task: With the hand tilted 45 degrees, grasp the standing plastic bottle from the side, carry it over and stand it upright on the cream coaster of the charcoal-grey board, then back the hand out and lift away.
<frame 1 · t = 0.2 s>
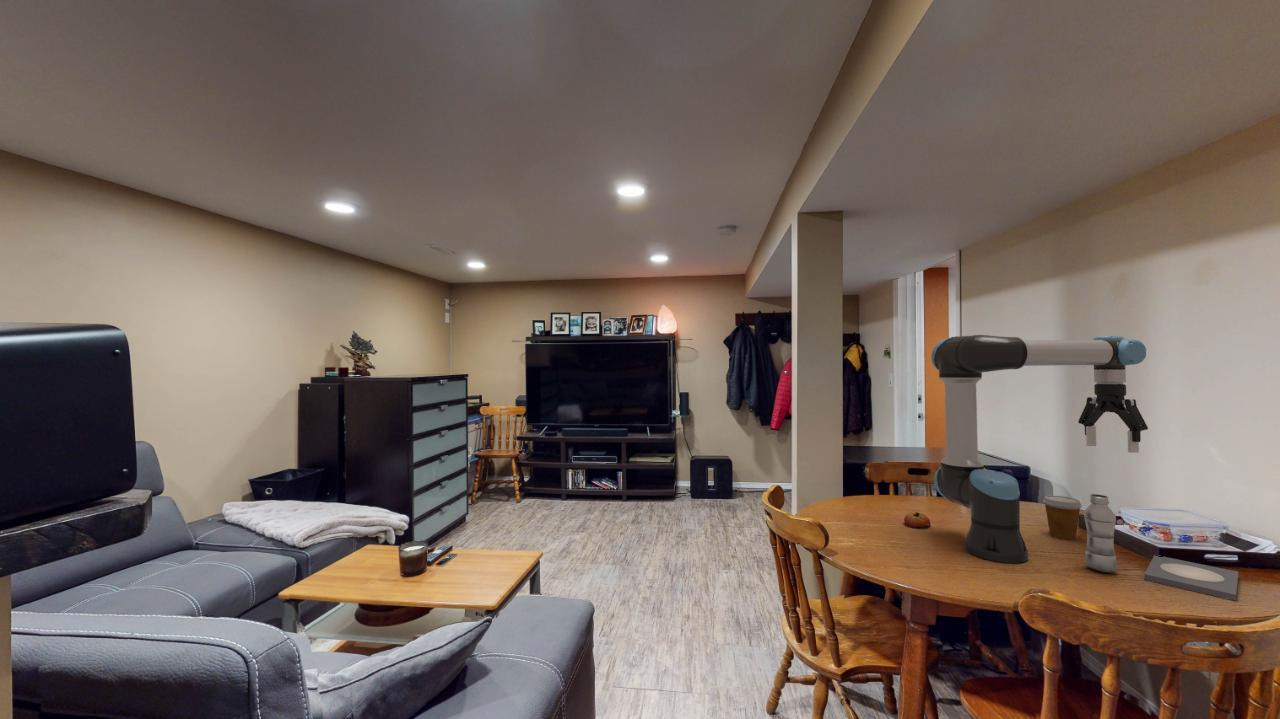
hand: (1111, 449, 159), 28 cm above the table, tool pointing down, fingers open, 13 cm apart
plastic bottle: (1100, 571, 132), on the table
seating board: (1191, 578, 127), on the table
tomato: (916, 526, 171), on the table
disposable coffee cup: (1062, 536, 159), on the table
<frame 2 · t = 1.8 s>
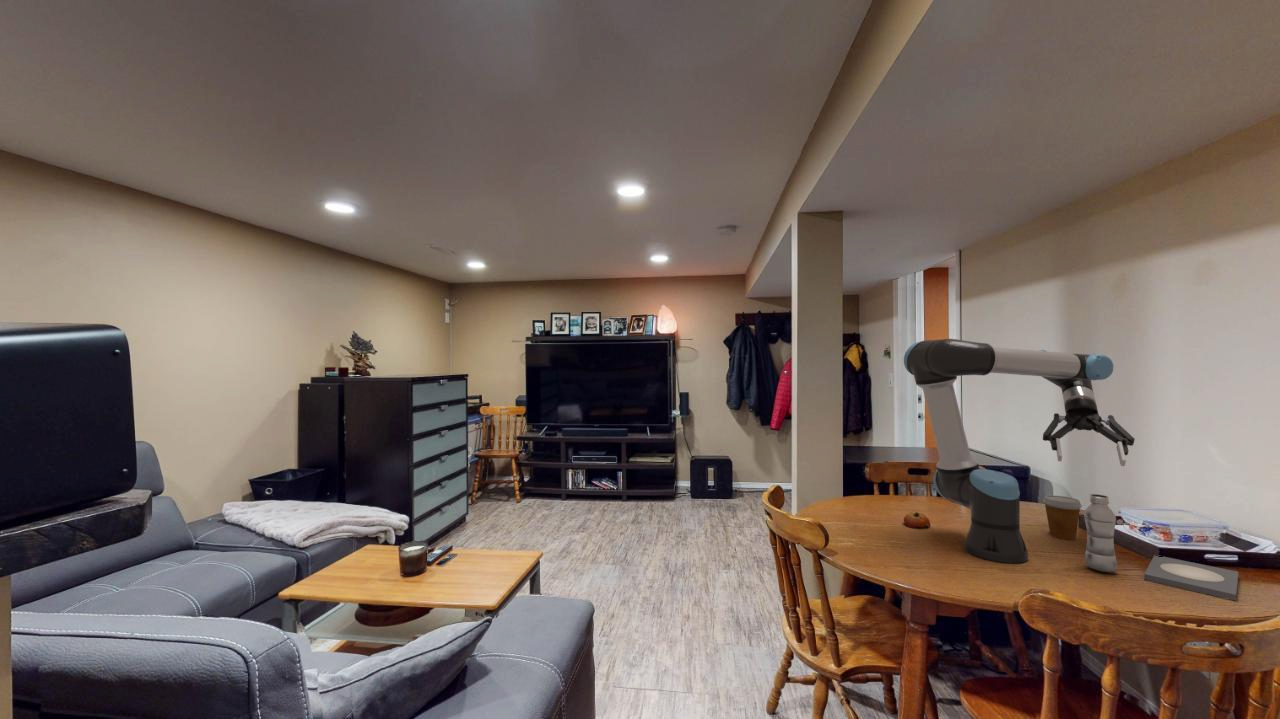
hand: (1090, 461, 142), 28 cm above the table, tool tilted 45°, fingers open, 13 cm apart
nothing on the table moved.
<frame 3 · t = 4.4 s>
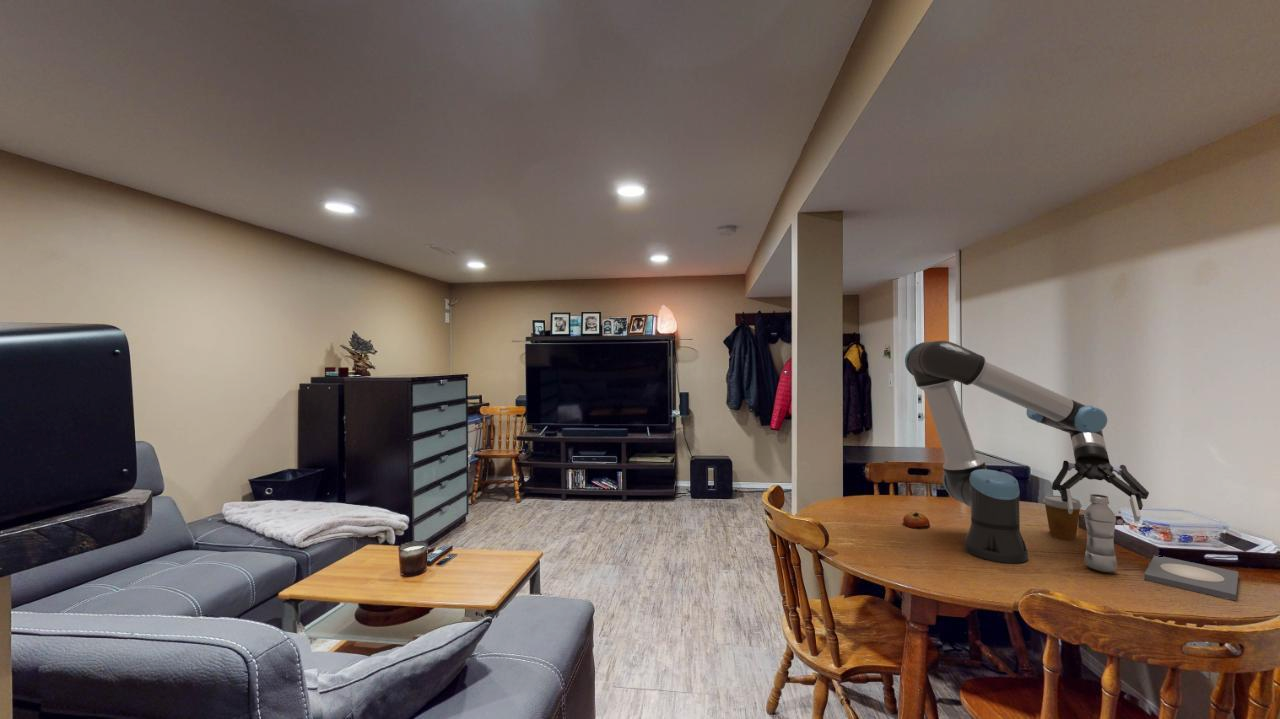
hand: (1103, 515, 135), 14 cm above the table, tool tilted 45°, fingers open, 13 cm apart
nothing on the table moved.
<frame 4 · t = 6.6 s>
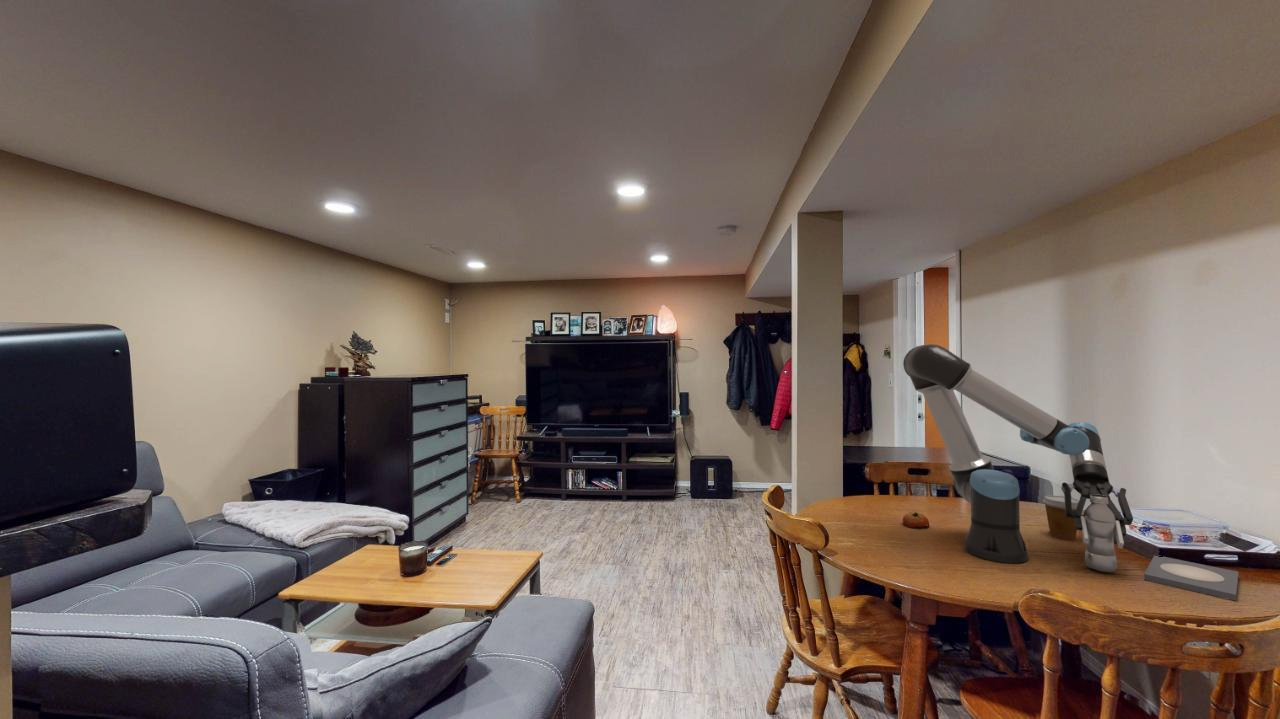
hand: (1103, 543, 130), 8 cm above the table, tool tilted 45°, fingers closed on plastic bottle, 6 cm apart
plastic bottle: (1100, 571, 132), on the table, touching gripper
everything else where it was.
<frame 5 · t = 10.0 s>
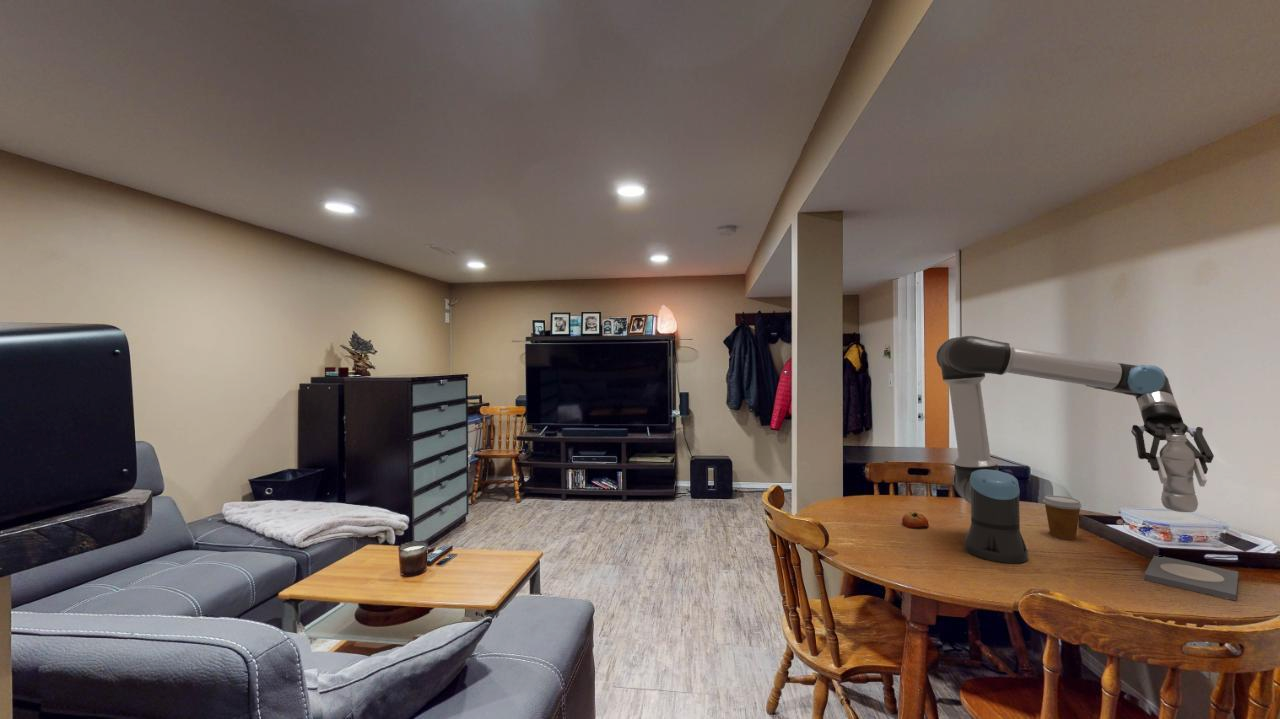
hand: (1183, 481, 125), 25 cm above the table, tool tilted 45°, fingers closed on plastic bottle, 6 cm apart
plastic bottle: (1179, 512, 128), point 17 cm above the table, touching gripper
everything else where it was.
when the fingers open (11 cm above the table, at t = 13.7 s): plastic bottle drops 1 cm, resting on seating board.
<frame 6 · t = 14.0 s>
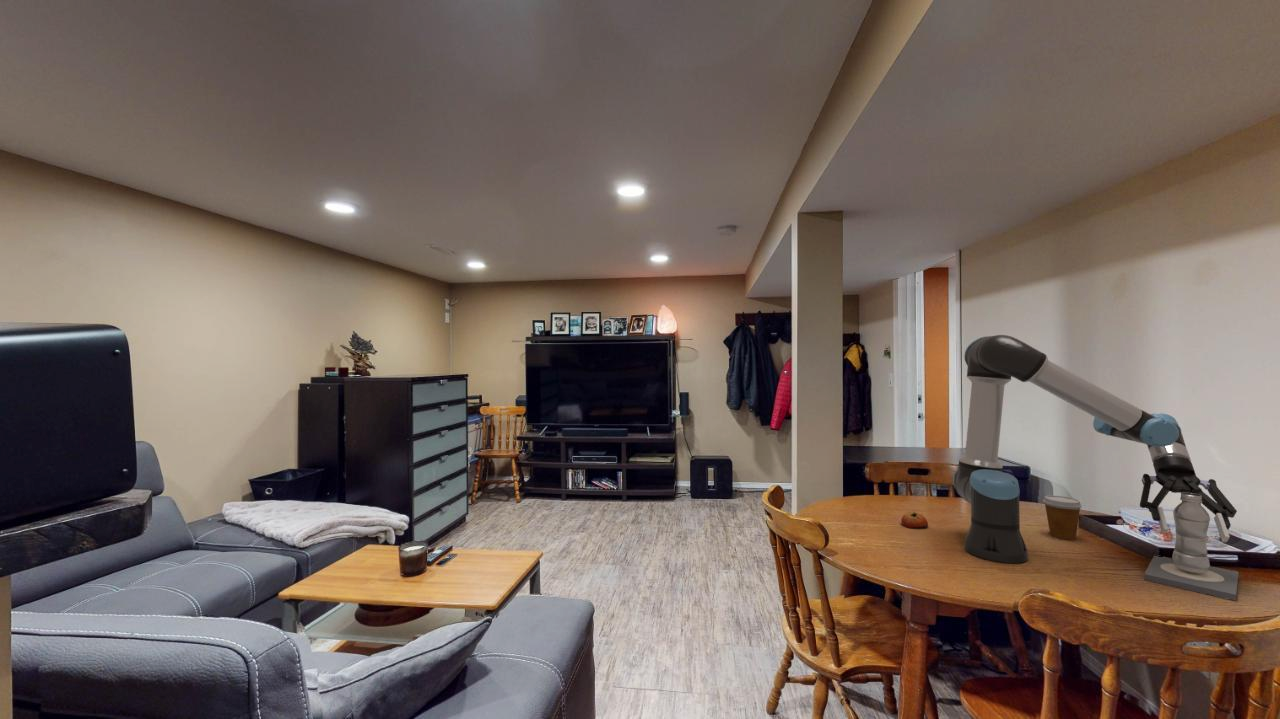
hand: (1194, 535, 125), 12 cm above the table, tool tilted 45°, fingers open, 10 cm apart
plastic bottle: (1190, 572, 127), point 2 cm above the table, touching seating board
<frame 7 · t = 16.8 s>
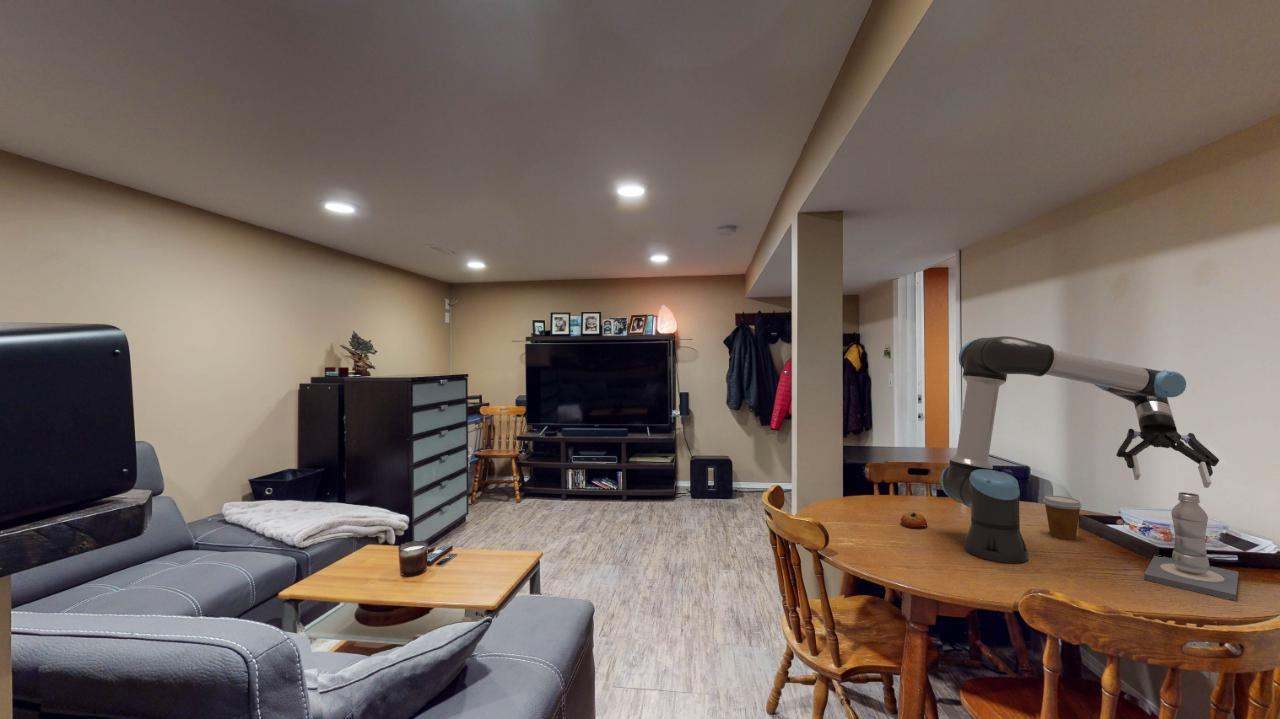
hand: (1171, 481, 136), 23 cm above the table, tool tilted 45°, fingers open, 13 cm apart
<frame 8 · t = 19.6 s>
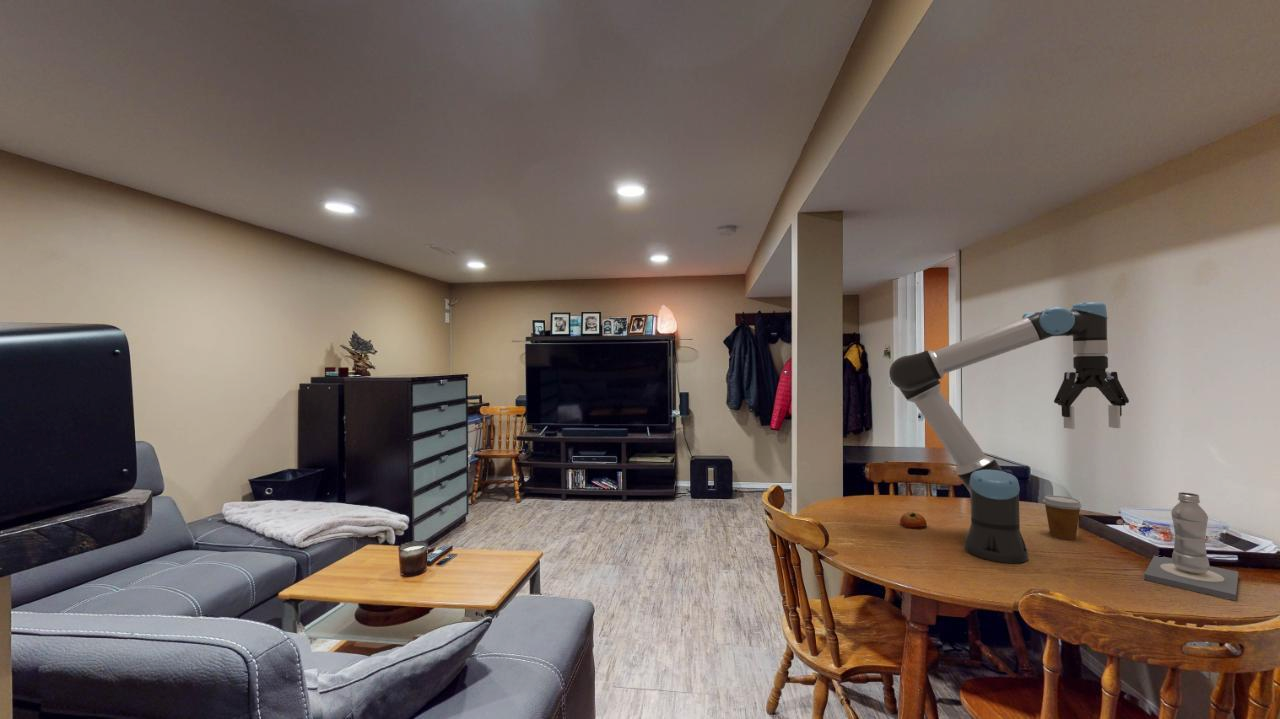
hand: (1091, 428, 144), 37 cm above the table, tool pointing down, fingers open, 13 cm apart
at the end: plastic bottle inside the target area (0.1 cm from its centre), point 1.5 cm above the table; plastic bottle tilted 0°; the gripper is holding nothing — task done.
